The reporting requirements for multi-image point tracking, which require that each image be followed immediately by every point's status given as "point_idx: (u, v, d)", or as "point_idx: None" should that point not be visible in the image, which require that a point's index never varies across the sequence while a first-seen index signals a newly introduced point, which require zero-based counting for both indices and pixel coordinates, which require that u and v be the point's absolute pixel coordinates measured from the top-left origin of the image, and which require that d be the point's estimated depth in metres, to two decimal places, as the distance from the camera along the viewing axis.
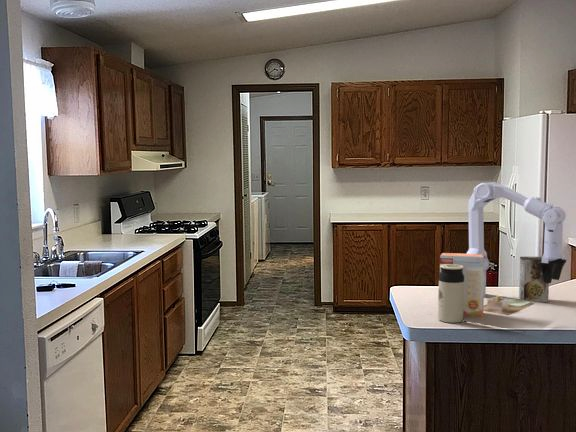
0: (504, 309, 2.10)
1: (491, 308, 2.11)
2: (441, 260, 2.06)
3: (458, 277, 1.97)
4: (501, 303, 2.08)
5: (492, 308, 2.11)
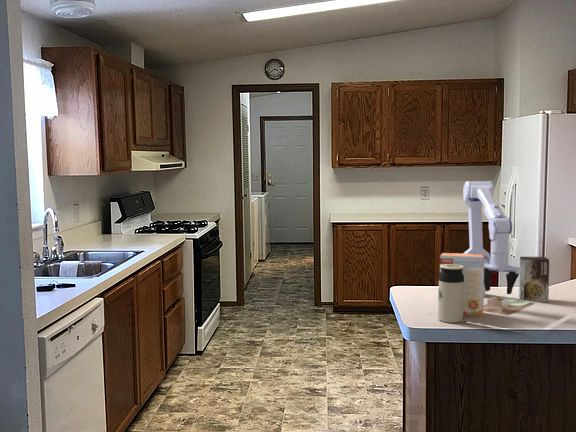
0: (504, 309, 2.10)
1: (491, 308, 2.11)
2: (441, 260, 2.06)
3: (458, 277, 1.97)
4: (501, 303, 2.08)
5: (492, 308, 2.11)
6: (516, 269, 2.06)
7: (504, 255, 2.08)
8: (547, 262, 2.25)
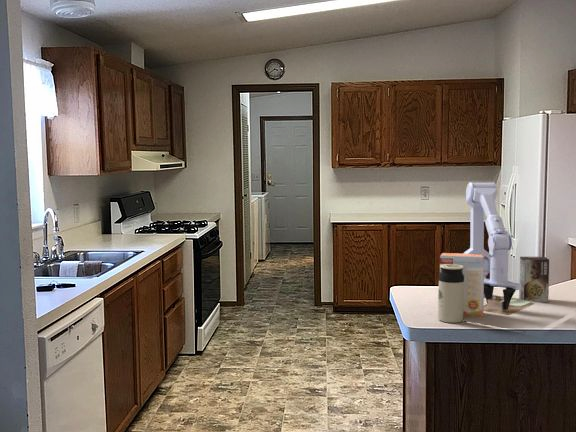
0: None
1: (491, 308, 2.11)
2: (441, 260, 2.06)
3: (458, 277, 1.97)
4: (501, 303, 2.08)
5: (492, 308, 2.11)
6: (515, 285, 2.06)
7: (503, 271, 2.08)
8: (547, 262, 2.25)
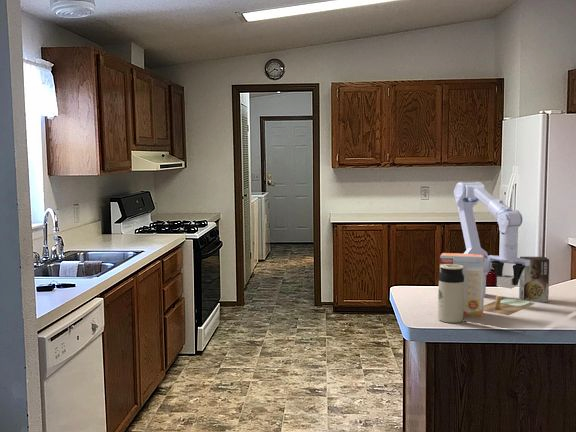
0: (513, 286, 2.15)
1: (501, 285, 2.16)
2: (441, 260, 2.06)
3: (458, 277, 1.97)
4: (510, 280, 2.13)
5: (501, 285, 2.15)
6: (525, 261, 2.11)
7: (513, 247, 2.13)
8: (547, 262, 2.25)
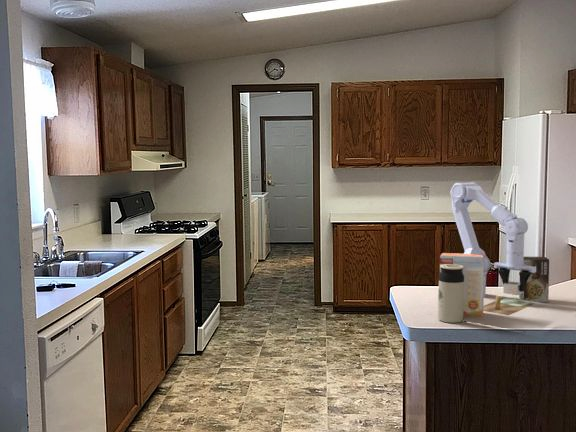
0: (520, 292, 2.19)
1: (507, 292, 2.20)
2: (441, 260, 2.06)
3: (458, 277, 1.97)
4: (517, 287, 2.17)
5: (508, 292, 2.19)
6: (531, 268, 2.15)
7: (520, 255, 2.17)
8: (547, 262, 2.25)
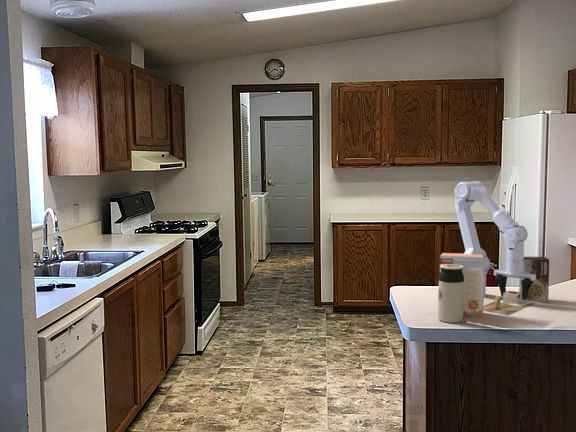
0: (519, 302, 2.19)
1: (507, 301, 2.20)
2: (441, 260, 2.06)
3: (458, 277, 1.97)
4: (516, 296, 2.18)
5: (508, 301, 2.20)
6: (531, 276, 2.15)
7: (519, 262, 2.18)
8: (547, 262, 2.25)
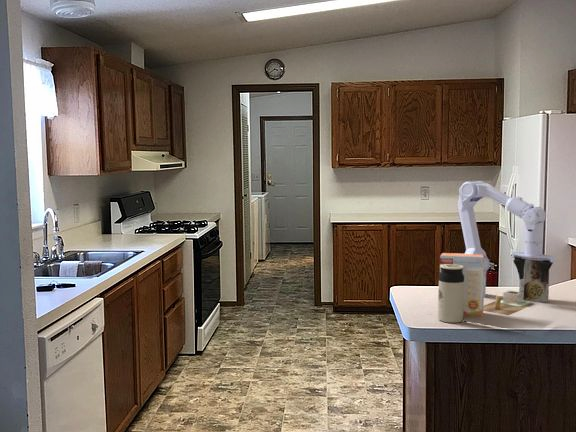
0: (519, 302, 2.19)
1: (507, 301, 2.20)
2: (441, 260, 2.06)
3: (458, 277, 1.97)
4: (516, 296, 2.18)
5: (508, 301, 2.20)
6: (550, 257, 2.11)
7: (538, 244, 2.14)
8: None
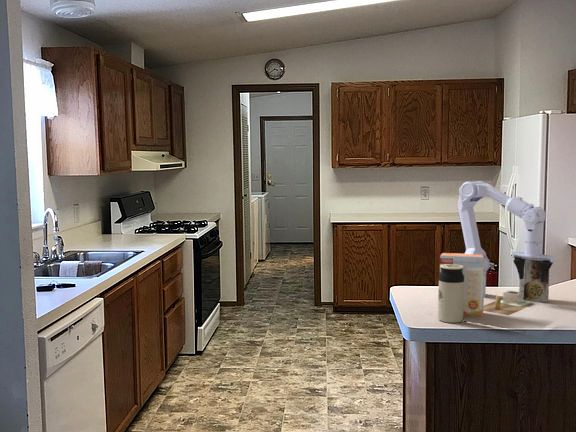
0: (519, 302, 2.19)
1: (507, 301, 2.20)
2: (441, 260, 2.06)
3: (458, 277, 1.97)
4: (516, 296, 2.18)
5: (508, 301, 2.20)
6: (550, 257, 2.11)
7: (538, 244, 2.14)
8: None
